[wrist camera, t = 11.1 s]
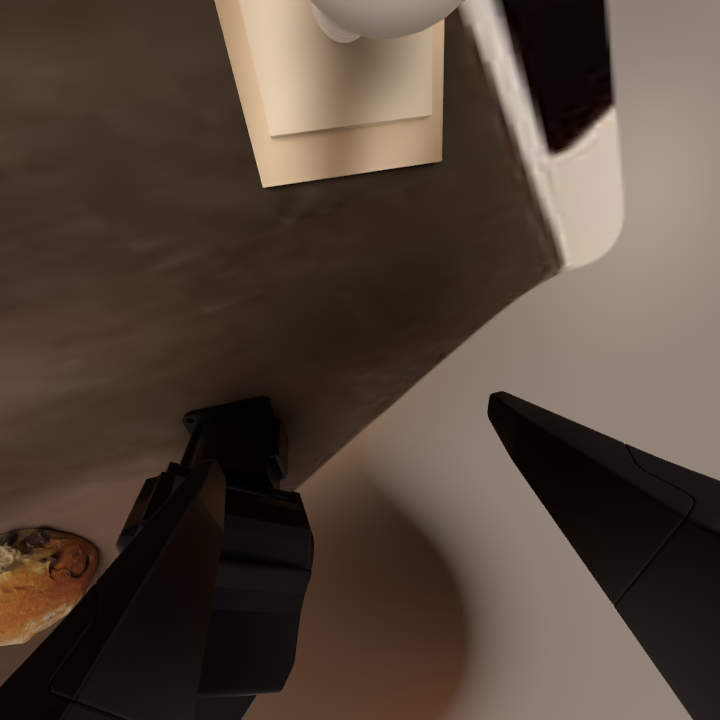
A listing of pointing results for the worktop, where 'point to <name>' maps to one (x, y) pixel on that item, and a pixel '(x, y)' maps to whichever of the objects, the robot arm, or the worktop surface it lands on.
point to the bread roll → (40, 580)
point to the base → (332, 93)
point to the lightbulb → (378, 17)
